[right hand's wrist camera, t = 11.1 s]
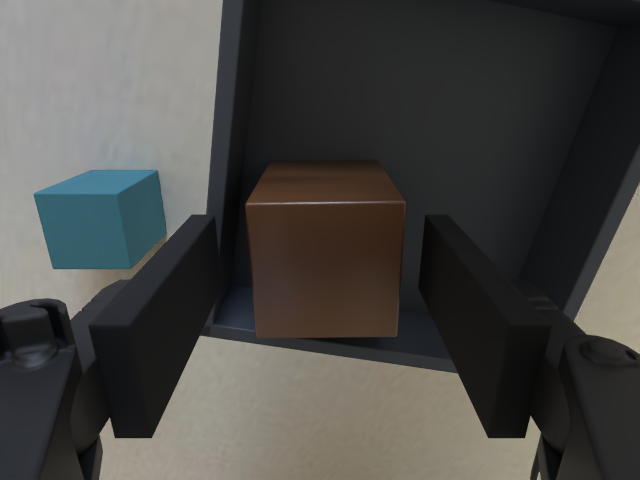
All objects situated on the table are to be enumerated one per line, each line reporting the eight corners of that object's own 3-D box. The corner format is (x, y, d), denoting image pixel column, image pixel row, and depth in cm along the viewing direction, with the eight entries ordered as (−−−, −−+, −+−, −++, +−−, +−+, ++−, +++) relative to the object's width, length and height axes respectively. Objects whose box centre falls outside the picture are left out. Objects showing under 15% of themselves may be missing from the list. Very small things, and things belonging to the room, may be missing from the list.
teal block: (167, 232, 29) (131, 269, 24) (103, 233, 29) (52, 269, 24) (158, 170, 28) (117, 193, 22) (90, 170, 28) (32, 193, 22)
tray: (502, 329, 21) (555, 402, 16) (220, 285, 20) (189, 350, 15) (785, -373, 12) (1085, -661, 7) (298, -511, 11) (282, -941, 6)
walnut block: (374, 259, 19) (397, 337, 13) (275, 260, 19) (255, 339, 13) (378, 159, 17) (407, 201, 11) (269, 161, 17) (244, 203, 11)
